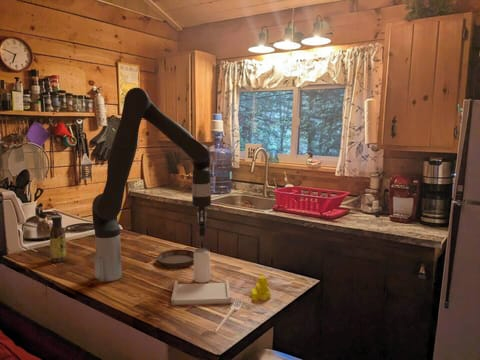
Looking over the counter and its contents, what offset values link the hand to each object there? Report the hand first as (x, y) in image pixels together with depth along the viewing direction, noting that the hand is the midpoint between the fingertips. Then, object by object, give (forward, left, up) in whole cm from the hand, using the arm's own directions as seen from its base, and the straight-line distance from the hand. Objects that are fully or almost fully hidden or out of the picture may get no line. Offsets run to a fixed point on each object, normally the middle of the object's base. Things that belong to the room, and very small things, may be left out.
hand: (202, 235), depth 158 cm
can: (-6, -8, -15) cm, 18 cm away
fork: (-16, -37, -15) cm, 43 cm away
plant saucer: (-3, +16, -15) cm, 22 cm away
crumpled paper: (+2, -33, -15) cm, 37 cm away
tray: (-13, -19, -15) cm, 27 cm away
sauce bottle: (-43, +50, -15) cm, 67 cm away
